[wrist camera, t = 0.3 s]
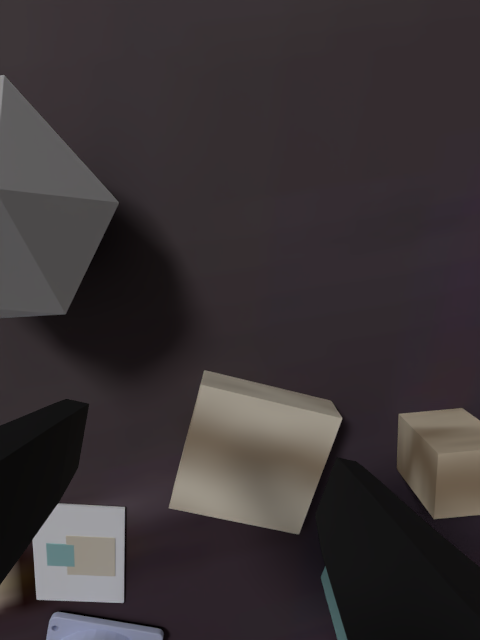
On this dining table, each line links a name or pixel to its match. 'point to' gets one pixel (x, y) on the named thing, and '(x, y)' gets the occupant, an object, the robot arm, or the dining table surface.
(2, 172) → the die
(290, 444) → the birch slab
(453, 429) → the block
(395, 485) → the dining table surface
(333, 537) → the robot arm
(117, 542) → the blueprint card
